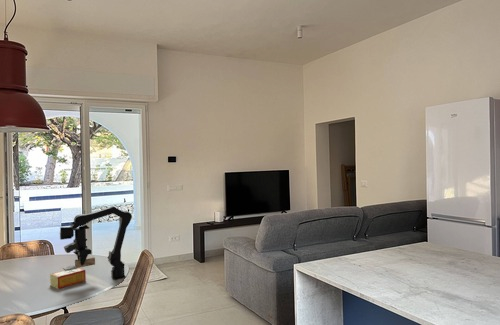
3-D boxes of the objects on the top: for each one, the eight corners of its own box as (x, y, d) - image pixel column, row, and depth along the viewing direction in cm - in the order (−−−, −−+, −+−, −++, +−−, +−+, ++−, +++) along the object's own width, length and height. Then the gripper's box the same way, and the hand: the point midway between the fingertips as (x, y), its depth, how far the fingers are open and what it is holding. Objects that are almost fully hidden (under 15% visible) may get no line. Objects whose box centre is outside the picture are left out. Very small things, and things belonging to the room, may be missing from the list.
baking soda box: (50, 274, 210) (78, 267, 222) (50, 285, 210) (78, 277, 222) (57, 277, 204) (85, 269, 216) (58, 288, 204) (86, 280, 216)
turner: (92, 262, 217) (92, 256, 217) (95, 265, 212) (95, 258, 212) (62, 268, 206) (62, 261, 206) (65, 271, 202) (65, 263, 202)
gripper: (60, 237, 212) (61, 264, 212) (69, 242, 197) (70, 271, 198) (81, 234, 219) (82, 260, 219) (91, 238, 205) (92, 267, 205)
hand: (81, 264), depth 210 cm, fingers closed on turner, 3 cm apart
